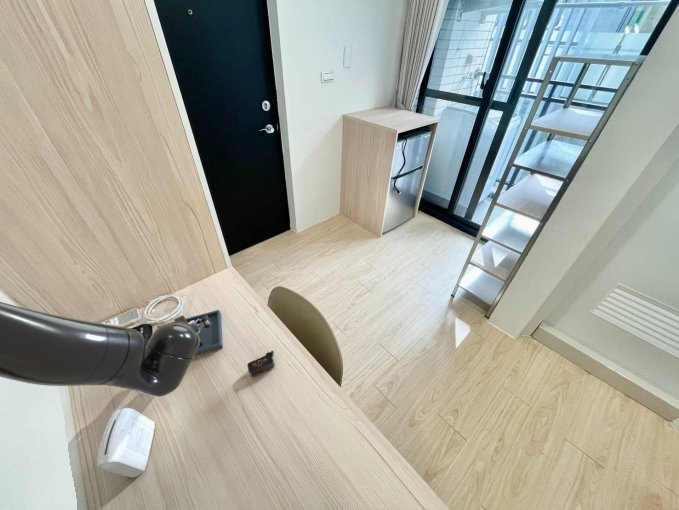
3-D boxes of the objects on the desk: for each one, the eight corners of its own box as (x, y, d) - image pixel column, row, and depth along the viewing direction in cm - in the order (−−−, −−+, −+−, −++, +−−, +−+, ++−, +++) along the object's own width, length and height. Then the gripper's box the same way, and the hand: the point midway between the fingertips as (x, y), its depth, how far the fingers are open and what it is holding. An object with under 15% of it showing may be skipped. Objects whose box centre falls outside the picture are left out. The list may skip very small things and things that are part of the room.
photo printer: (137, 425, 63) (106, 407, 54) (157, 419, 63) (130, 402, 55) (123, 480, 55) (85, 470, 47) (146, 474, 56) (112, 463, 48)
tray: (155, 368, 72) (151, 364, 71) (160, 329, 80) (157, 326, 79) (222, 347, 76) (220, 344, 75) (221, 313, 85) (219, 309, 83)
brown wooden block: (203, 344, 76) (193, 331, 71) (188, 352, 75) (177, 339, 70) (194, 325, 81) (185, 311, 76) (180, 332, 79) (169, 318, 74)
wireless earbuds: (278, 366, 73) (276, 361, 71) (252, 378, 70) (249, 373, 68) (273, 351, 76) (271, 346, 73) (248, 362, 73) (245, 357, 71)
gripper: (202, 308, 59) (202, 305, 74) (128, 345, 53) (144, 334, 67) (218, 338, 60) (215, 329, 75) (147, 377, 54) (159, 359, 68)
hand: (181, 331), depth 71 cm, fingers open, 8 cm apart
